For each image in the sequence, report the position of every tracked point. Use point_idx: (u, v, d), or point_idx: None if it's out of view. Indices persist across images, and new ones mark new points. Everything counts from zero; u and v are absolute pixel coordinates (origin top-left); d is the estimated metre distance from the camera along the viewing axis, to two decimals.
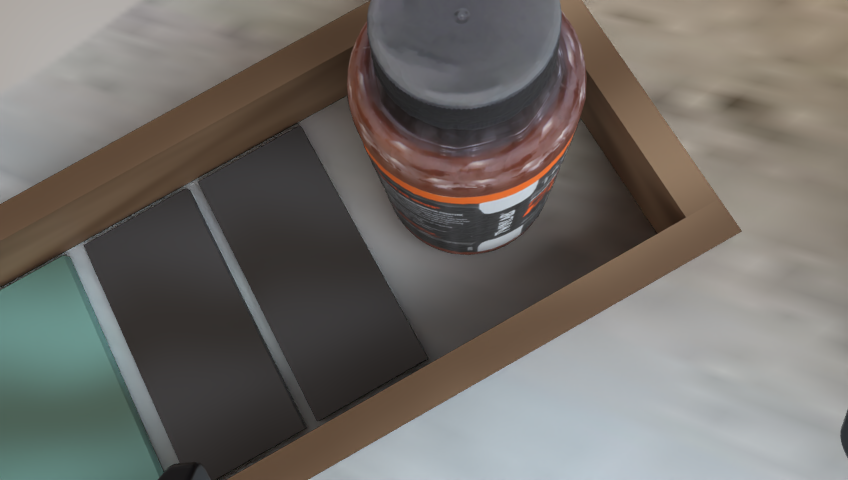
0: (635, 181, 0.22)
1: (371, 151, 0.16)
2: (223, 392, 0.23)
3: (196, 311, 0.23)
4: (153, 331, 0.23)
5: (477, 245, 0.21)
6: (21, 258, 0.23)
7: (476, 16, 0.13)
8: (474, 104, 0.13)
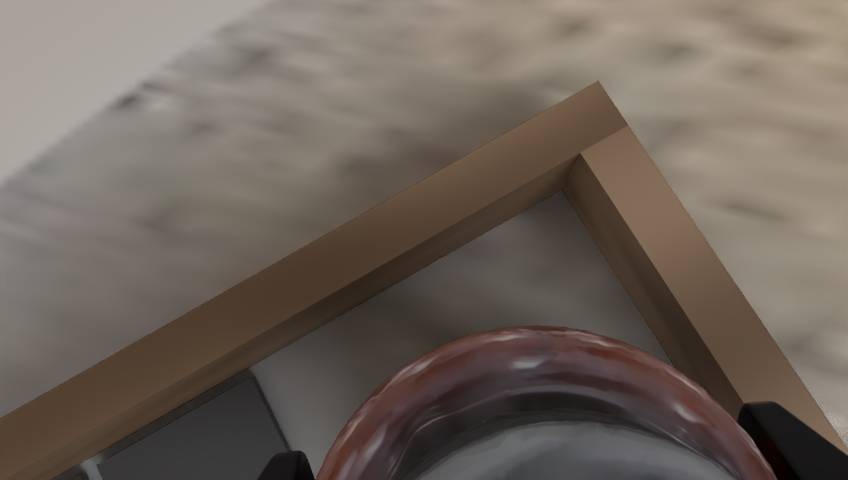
0: None
1: None
2: None
3: None
4: None
5: None
6: None
7: None
8: None
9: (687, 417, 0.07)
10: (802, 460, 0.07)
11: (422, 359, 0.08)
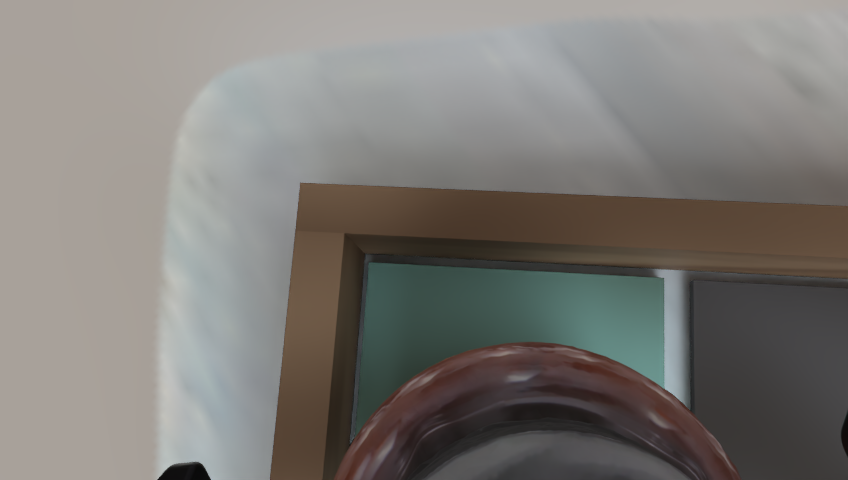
0: None
1: None
2: None
3: (808, 459, 0.16)
4: (738, 449, 0.16)
5: None
6: (632, 260, 0.17)
7: None
8: None
9: (661, 425, 0.08)
10: None
11: (427, 372, 0.09)
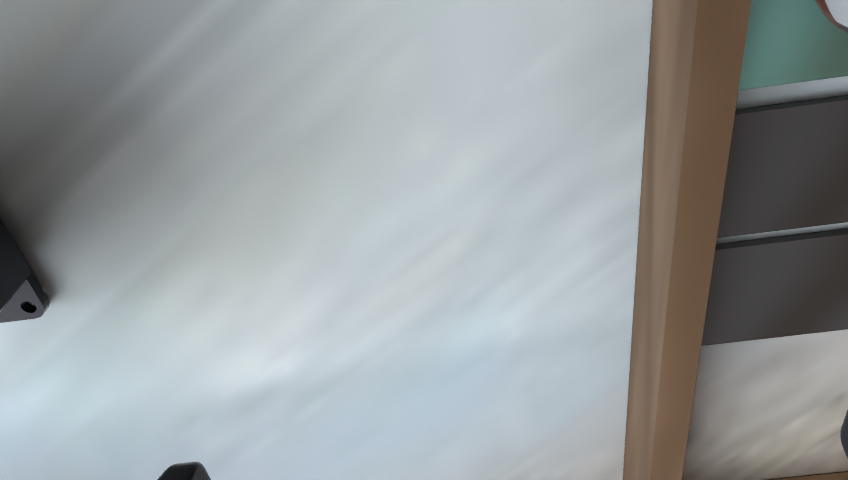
0: None
1: None
2: (772, 179, 0.20)
3: None
4: None
5: None
6: None
7: None
8: None
9: None
10: None
11: None
